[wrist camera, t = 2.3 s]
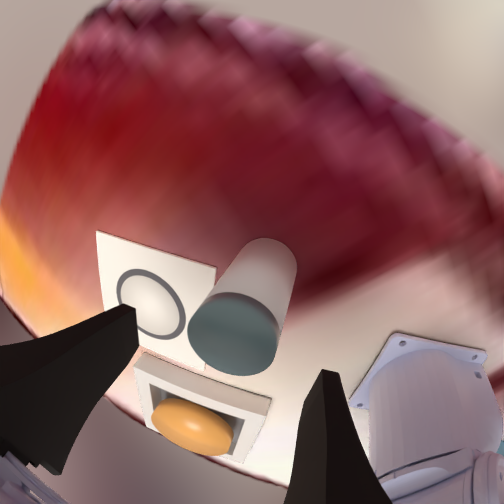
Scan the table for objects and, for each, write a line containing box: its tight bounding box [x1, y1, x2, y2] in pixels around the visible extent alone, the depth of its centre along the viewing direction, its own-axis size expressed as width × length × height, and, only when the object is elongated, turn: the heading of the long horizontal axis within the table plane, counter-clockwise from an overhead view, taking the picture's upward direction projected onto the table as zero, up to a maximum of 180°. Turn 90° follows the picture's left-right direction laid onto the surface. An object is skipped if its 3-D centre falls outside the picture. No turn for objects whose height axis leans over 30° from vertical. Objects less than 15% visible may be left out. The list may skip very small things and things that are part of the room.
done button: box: [151, 398, 234, 456], centre depth 23 cm, size 8×8×2 cm
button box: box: [133, 352, 271, 463], centre depth 24 cm, size 12×12×2 cm
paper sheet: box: [96, 230, 217, 371], centre depth 20 cm, size 10×10×1 cm
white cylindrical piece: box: [187, 238, 297, 376], centre depth 14 cm, size 4×4×7 cm
